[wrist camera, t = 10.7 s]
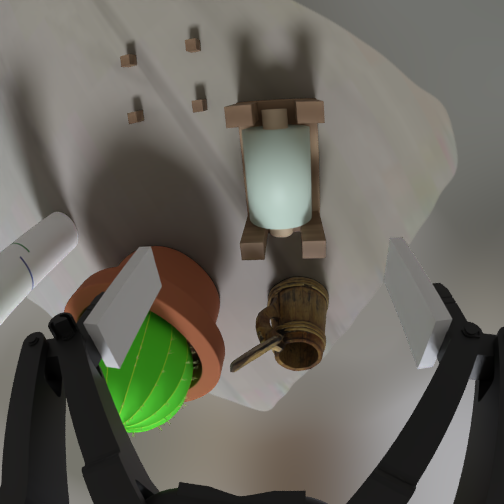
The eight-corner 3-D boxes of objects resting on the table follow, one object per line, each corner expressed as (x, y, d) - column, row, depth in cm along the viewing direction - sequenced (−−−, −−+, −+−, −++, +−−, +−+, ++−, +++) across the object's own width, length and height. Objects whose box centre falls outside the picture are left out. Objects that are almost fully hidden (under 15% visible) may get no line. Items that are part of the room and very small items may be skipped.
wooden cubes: (127, 57, 31) (120, 56, 30) (199, 40, 30) (195, 38, 28) (135, 122, 36) (128, 124, 34) (207, 110, 34) (203, 111, 33)
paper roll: (244, 109, 33) (234, 114, 27) (306, 106, 32) (310, 110, 26) (254, 220, 40) (247, 247, 34) (310, 219, 39) (313, 246, 33)
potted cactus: (262, 310, 48) (243, 461, 26) (169, 356, 56) (127, 470, 35) (165, 201, 41) (58, 326, 19) (85, 275, 49) (3, 379, 27)
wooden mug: (271, 245, 42) (261, 342, 27) (340, 298, 46) (357, 397, 30) (232, 286, 46) (207, 383, 31) (299, 331, 50) (300, 427, 34)
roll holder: (237, 102, 34) (223, 106, 26) (315, 98, 32) (324, 100, 25) (250, 225, 41) (241, 260, 33) (318, 223, 40) (326, 258, 32)
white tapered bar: (64, 256, 47) (-24, 354, 26) (40, 225, 45) (-58, 312, 23) (85, 238, 45) (-14, 343, 23) (60, 203, 42) (-52, 294, 21)
